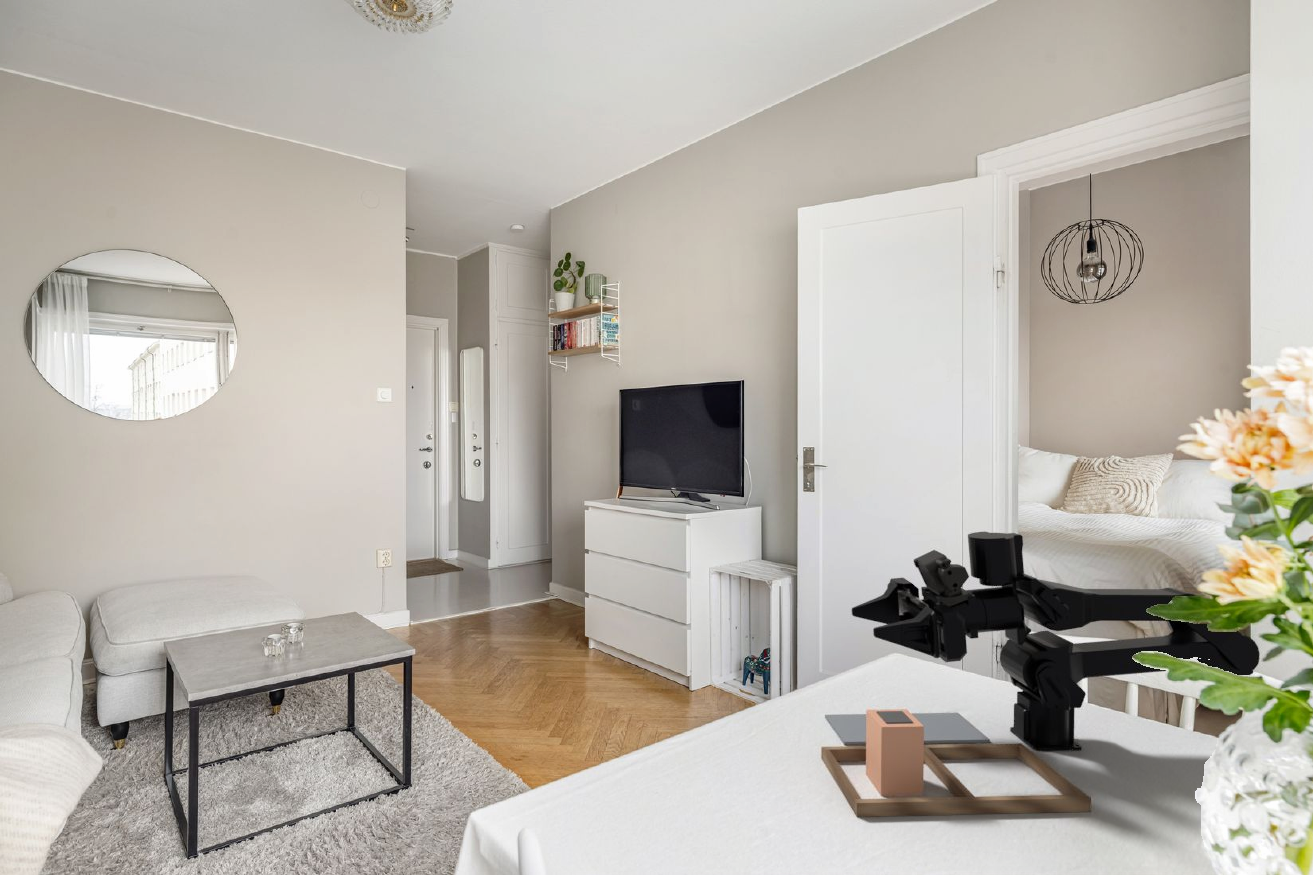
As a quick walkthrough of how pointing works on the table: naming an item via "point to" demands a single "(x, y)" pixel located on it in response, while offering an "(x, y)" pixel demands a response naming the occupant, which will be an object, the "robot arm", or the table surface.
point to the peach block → (894, 752)
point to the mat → (935, 724)
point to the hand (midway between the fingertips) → (862, 621)
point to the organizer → (959, 784)
